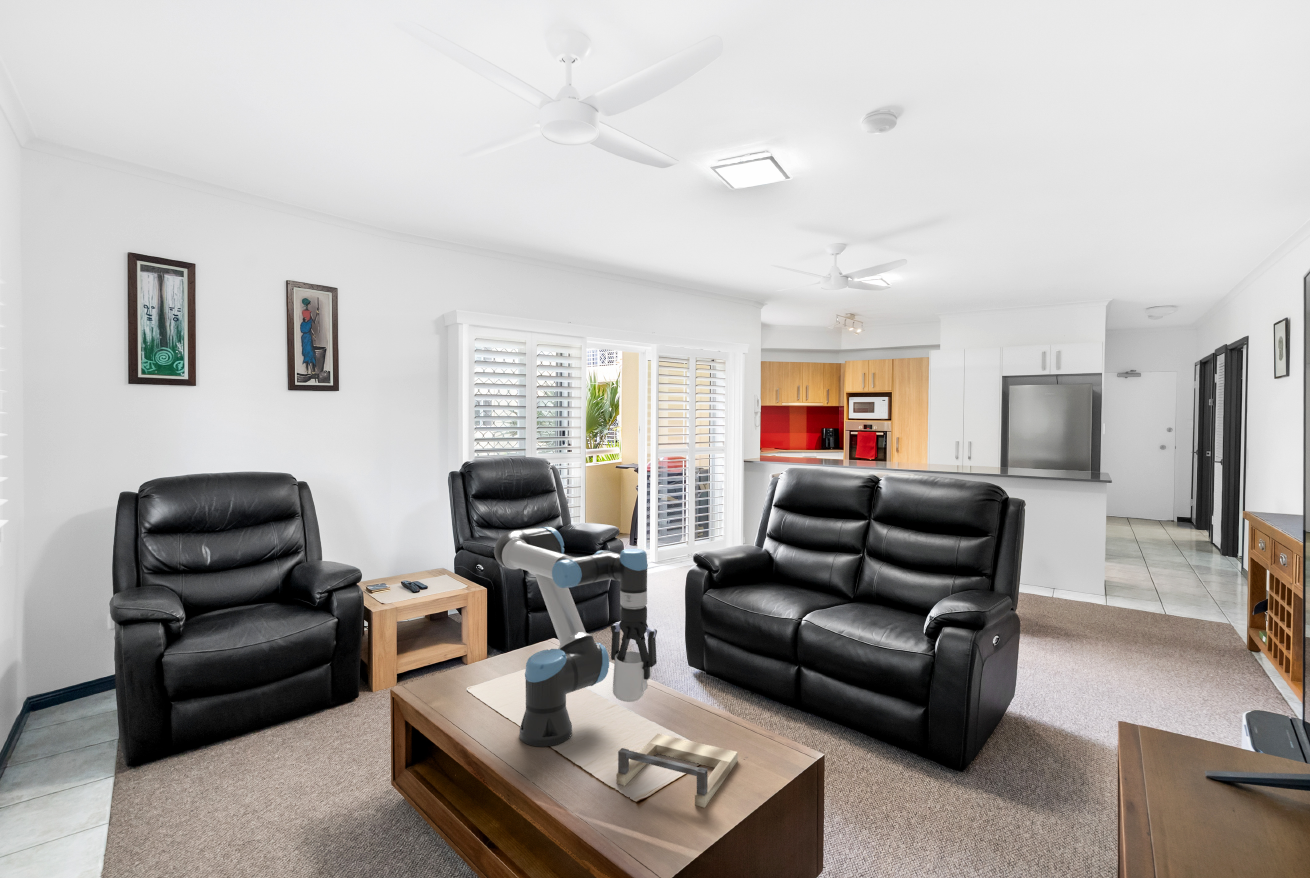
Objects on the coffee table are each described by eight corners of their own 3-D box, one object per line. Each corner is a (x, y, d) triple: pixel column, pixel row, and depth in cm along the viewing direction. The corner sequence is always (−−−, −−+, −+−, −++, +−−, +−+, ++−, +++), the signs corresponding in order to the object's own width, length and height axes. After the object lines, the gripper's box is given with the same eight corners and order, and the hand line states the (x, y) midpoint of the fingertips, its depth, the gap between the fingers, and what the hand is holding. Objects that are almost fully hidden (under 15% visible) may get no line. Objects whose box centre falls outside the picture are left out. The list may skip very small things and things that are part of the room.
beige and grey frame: (616, 783, 163) (616, 752, 163) (657, 742, 185) (657, 714, 185) (704, 807, 153) (704, 774, 153) (737, 761, 174) (737, 731, 174)
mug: (624, 706, 174) (627, 665, 174) (606, 692, 181) (608, 654, 181) (658, 696, 182) (661, 657, 181) (640, 684, 189) (643, 647, 188)
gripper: (597, 604, 181) (597, 686, 181) (658, 613, 172) (657, 699, 173) (611, 598, 187) (611, 677, 188) (669, 606, 179) (669, 689, 179)
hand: (633, 687), depth 180 cm, fingers closed on mug, 6 cm apart
